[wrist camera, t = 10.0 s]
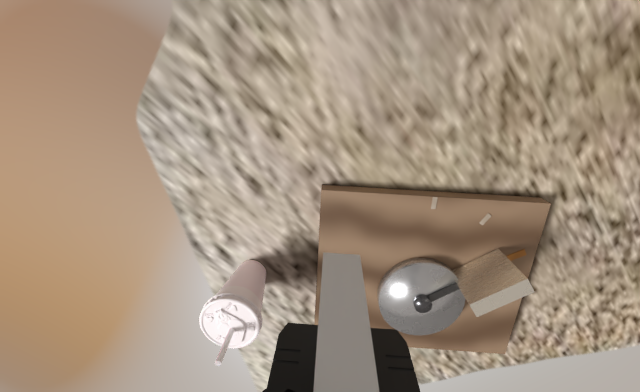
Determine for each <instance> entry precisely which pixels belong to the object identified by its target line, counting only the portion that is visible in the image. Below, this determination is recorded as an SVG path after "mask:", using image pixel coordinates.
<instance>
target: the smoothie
mask: <svg viewBox="0 0 640 392" xmlns="http://www.w3.org/2000/svg"><path fill="white" fill-rule="evenodd" d="M265 280H266V269H265V267H264V266H263V265H262V264H261V263H260V262H258V261H255V260H247V261H244V262H243V263H241V265H240V266H239V267H238V268H237V270H236V271H235V272H234V273H233V274H232V276H231V277H230V278H229V279H228V281H227V282H226V283H225V284H224V286H223V287H222V288H221V289H220V291H219V292H218V293H217V294H216V295H215V296H213V297H212V298H210V299H209V300H208V301H207V302H206V303H205V305H204V307H203V310H202V311H201V314H200V318H199V323H200V327H201V329H202V331H203V333H204V334H205V336H206V337H207V338H208V339H209V340H211V341H212V342H213V343H215V344H217V345H219V346H222V347H221V350H220V352H219V354H218V357H217V359H216V361H215V365H217V366H220V365H221V363H222V360H223V358H224V355H225V353H226V350H227V348H241V347H245V346H247V345H249V344H251V343H252V342H253V341H254V340H255V339H256V338H257V336H258V334H259V331H260V329H261V327H262V316H261V308H262V301H263V294H264V287H265Z"/></svg>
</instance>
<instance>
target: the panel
mask: <svg viewBox="0 0 640 392" xmlns="http://www.w3.org/2000/svg"><path fill="white" fill-rule="evenodd" d="M550 205H551V203H549V202H547V201H545V200H544V199H542V198H540V197H524V196H507V195H490V194H473V193H456V192H439V191H422V190H404V189H387V188H370V187H353V186H336V185H322V189H321V208H320V228H319V247H318V267H317V286H316V306H315V325H318V320H319V306H320V292H321V278H322V264H323V253H338V254H354V255H360V258H361V265H362V272H363V279H364V286H365V293H366V301H367V308H368V315H369V322H370V328H381V329H394V328H393V327H391V326H390V325H389V324H388V323H387V322H386V321H385V320H384V318H383V316H382V314H381V312H380V308H379V303H378V297H377V292H378V286H379V284H380V281H381V279H382V278H383V276H384V275H385V274H386V272H387V271H388V270H389V269H391V268H392V267H393V266H395V265H396V264H398V263H400V262H402V261H405V260H408V259H413V258H431V259H435V260H438V261H440V262H443V263H444V264H446V265H448V266H449V267H450V268H451V269H452V270H454V269H457V268H459V267H461V266H463V265H465V264H467V263H469V262H471V261H473V260H475V259H477V258H480V257H482V256H484V255H486V254H488V253H490V252H492V251H494V250H496V249H499V250H500V251H501V252H502V253H503V254H504V255H505V256H506V257H507V258H508V259H509V260H510V261H511V262H512V263H513V264H514V265H515V266H516V267H517V268H518V269H519V270H520V271H521V272H522V273H523V274H524V275H525V276H526V277H527V278H528V277H529V274H530V271H531V267H532V264H533V261H534V258H535V254H536V251H537V248H538V245H539V241H540V238H541V235H542V231H543V228H544V225H545V222H546V218H547V215H548V212H549V209H550ZM521 300H522V298H520V299H518V300H515V301H513V302H511V303H508V304H506V305H504V306H502V307H499V308H497V309H495V310H492V311H490V312H488V313H486V314H483V315H481V316H479V317H476V315H475V314H474V312H473V310H472V309H471V307H470V305H469V304H468V302H467V300H466V299H465V304H464V308H463V310H462V312H461V314H460V316H459V317H458V318H457V319H456V321H455V322H454V323H452V324H451V325H450V326H448V327H447V328H445V329H443V330H441V331H439V332H437V333H433V334H429V335H409V334H405V333H402V332H400V331H398V332H399V333H400V334H401V336H402V337H403V338H404V339H405V341H406V342H407V345H408V347H416V348H430V349H444V350H458V351H471V352H485V353H499V354H505V352H506V349H507V345H508V342H509V339H510V336H511V332H512V329H513V326H514V323H515V319H516V316H517V313H518V310H519V306H520V303H521ZM395 330H396V329H395Z"/></svg>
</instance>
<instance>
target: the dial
mask: <svg viewBox="0 0 640 392" xmlns="http://www.w3.org/2000/svg"><path fill="white" fill-rule="evenodd" d="M531 293H534V290H533V288H532V286H531V284H530V282H529V280H528V278H527V277H526V276H525V275H524V274H523V273H522V272H521V271H520V270H519V269H518V268H517V267H516V266H515V265H514V264H513V263H512V262H511V261H510V260H509V259H508V258H507V257H506V256H505V255H504V254H503V253H502V252H501V251H500V250H499V249H496V250H494V251H492V252H490V253H488V254H486V255H484V256H482V257H480V258H477V259H475V260H473V261H471V262H469V263H467V264H465V265H463V266H461V267H459V268H457V269H454V270H452V269H451V268H450V267H449V266H448V265H446V264H444V263H443V262H440V261H438V260H435V259H431V258H413V259H408V260H405V261H402V262H400V263H398V264H396V265H395V266H393V267H392V268H391V269H389V270H388V271H387V272H386V274H385V275H384V276H383V278H382V279H381V281H380V284H379V286H378V292H377V297H378V303H379V308H380V312H381V314H382V316H383V318H384V320H385V321H386V322H387V323H388V324H389V325H390V326H391V327H393V328H394V329H396V330H398V331H400V332H402V333H405V334H409V335H429V334H433V333H437V332H439V331H441V330H443V329H445V328H447V327H448V326H450V325H451V324H452V323H454V322H455V321H456V319H457V318H458V317H459V316H460V314H461V312H462V310H463V308H464V304H465V299H466V300H467V302H468V304H469V305H470V307H471V309H472V310H473V312H474V314H475V315H476V317H479V316H481V315H483V314H486V313H488V312H490V311H492V310H495V309H497V308H499V307H502V306H504V305H506V304H508V303H511V302H513V301H515V300H518V299H520V298H522V297H524V296H527V295H529V294H531Z"/></svg>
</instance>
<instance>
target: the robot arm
mask: <svg viewBox="0 0 640 392" xmlns="http://www.w3.org/2000/svg"><path fill="white" fill-rule="evenodd" d="M263 392H420V389H419V385H418V382H417V378H416V374H415V372H414V367H413V364H412V360H411V356H410V353H409V349H408V345H407V342H406V341H405V339H404V338H403V337H402V336H401V334H400V333H399V332H398V330H395V329H381V328H370V322H369V315H368V308H367V301H366V293H365V286H364V279H363V272H362V265H361V258H360V255H354V254H338V253H323V264H322V278H321V292H320V306H319V320H318V325H309V324H295V323H288V324H287V325H286V326H285V327H284V329H283V330H282V331H281V332H280V334H279V336H278V341H277V345H276V351H275V354H274V359H273V363H272V368H271V372H270V377H269V381H268V386H267V389H265V390H264V391H263Z"/></svg>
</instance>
